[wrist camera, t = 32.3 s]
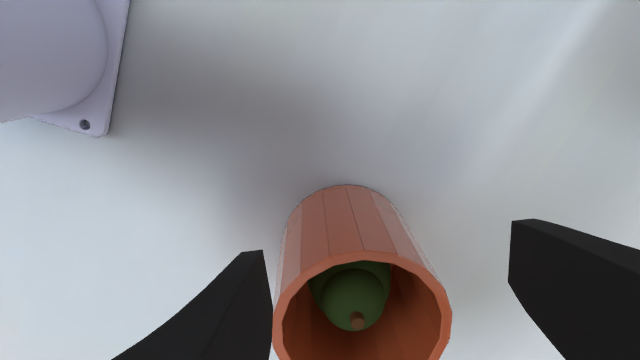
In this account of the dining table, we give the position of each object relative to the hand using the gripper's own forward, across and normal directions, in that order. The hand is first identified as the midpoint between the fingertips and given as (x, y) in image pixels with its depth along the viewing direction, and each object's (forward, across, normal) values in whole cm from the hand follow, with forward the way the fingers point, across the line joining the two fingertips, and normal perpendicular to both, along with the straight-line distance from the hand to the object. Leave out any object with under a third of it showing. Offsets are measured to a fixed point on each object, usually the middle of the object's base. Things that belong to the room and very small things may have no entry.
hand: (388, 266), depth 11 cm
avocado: (+10, +1, +5) cm, 11 cm away
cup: (+10, +1, +5) cm, 11 cm away
